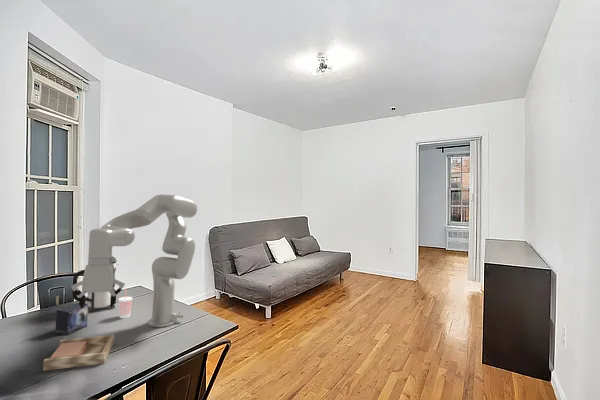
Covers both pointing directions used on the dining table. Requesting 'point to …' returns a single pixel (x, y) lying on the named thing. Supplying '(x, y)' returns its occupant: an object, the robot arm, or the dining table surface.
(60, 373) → the dining table surface
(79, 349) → the cover plate
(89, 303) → the coffee press
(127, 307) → the beverage cup
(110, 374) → the dining table surface
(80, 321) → the small box
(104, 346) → the wooden tray
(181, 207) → the robot arm
